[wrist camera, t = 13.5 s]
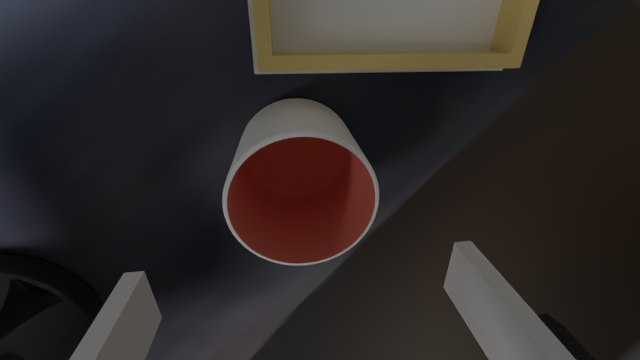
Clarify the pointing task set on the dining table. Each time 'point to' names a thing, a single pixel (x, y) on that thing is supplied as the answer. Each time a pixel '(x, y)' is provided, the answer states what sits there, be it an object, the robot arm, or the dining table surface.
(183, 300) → the dining table surface
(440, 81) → the dining table surface
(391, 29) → the panel
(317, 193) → the cup
